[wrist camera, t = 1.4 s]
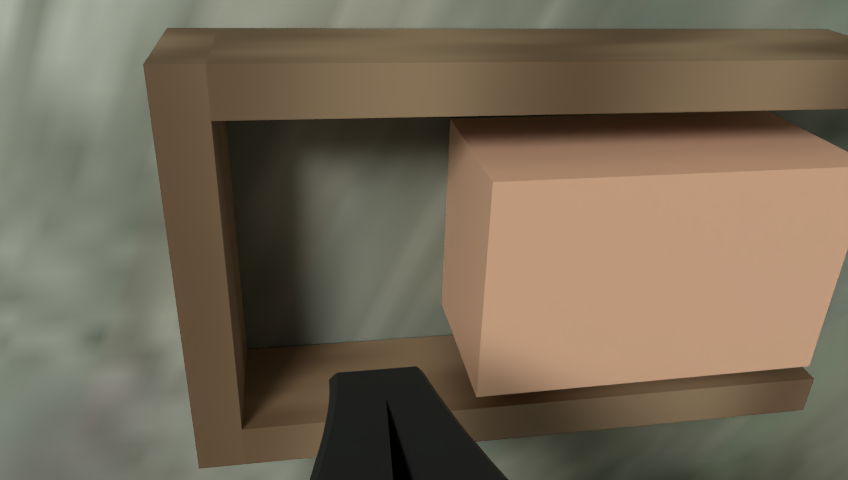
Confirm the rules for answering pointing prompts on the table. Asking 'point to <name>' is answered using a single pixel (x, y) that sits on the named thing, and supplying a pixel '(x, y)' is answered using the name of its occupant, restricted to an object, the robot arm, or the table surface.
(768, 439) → the table surface
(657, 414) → the walnut cubby
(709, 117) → the terracotta brick
